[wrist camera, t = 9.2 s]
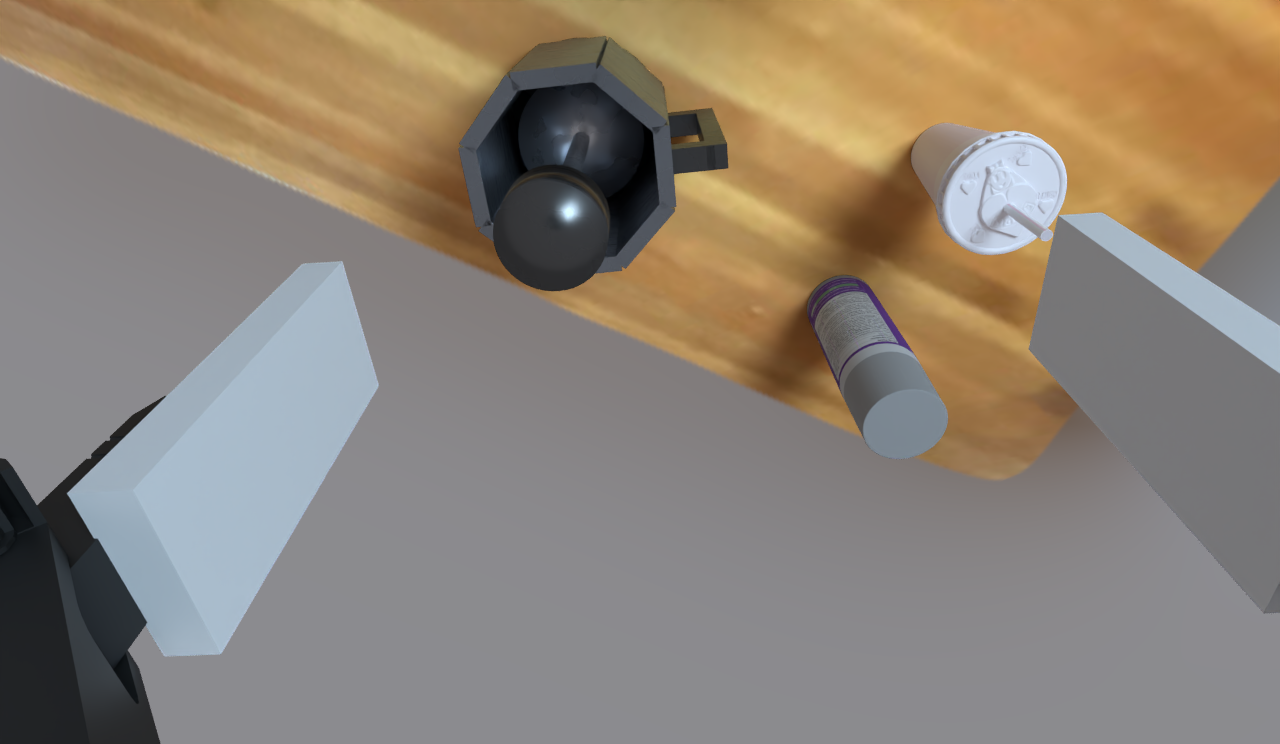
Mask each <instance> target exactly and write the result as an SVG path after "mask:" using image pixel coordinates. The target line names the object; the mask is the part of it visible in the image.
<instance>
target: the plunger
mask: <svg viewBox="0 0 1280 744" xmlns="http://www.w3.org/2000/svg"><path fill="white" fill-rule="evenodd" d="M518 141H519V148H520V152H521V156H522V159H523V161H524V164H525V166H526V167H527V169H528V171H527V172H526V173H524V174H523V175H521V176H520V177H519V178H518V179H517V180H516V181H515V182H514V183H513V185H512V186H511V188H510V189H509V191H508V193H507V195H506V196H505V198H504V200H503V202H502V204H501V206H500V208H499V210H498V212H497V214H496V217H495V220H494V226H493V240H494V246H495V249H496V252H497V254H498V257H499V259H500V260H501V262H502V264H503V265H504V266H505V268H506V269H507V270H508V271H509V272H510V273H511V274H512V275H513V276H514V277H515V278H517V279H518V280H519V281H521V282H523V283H524V284H526V285H528V286H531V287H533V288H536V289H540V290H545V291H562V290H568V289H571V288H574V287H576V286H579V285H581V284H582V283H584V282H586V281H587V280H588V279H590V278H591V277H592V276H593V275H594V274H595V273H596V272H597V270H598V269H599V267H600V266H601V264H602V262H603V260H604V258H605V255H606V251H607V246H608V238H609V229H610V211H609V206H608V203H607V200H606V198H607V197H609V196H611V195H613V194H615V193H616V192H618V191H619V190H620V189H622V188H623V187H624V186H625V185H626V184H627V183H628V182H629V181H630V180H631V178H632V177H633V175H634V174H635V172H636V170H637V168H638V166H639V164H640V161H641V158H642V154H643V148H644V130H643V124H642V122H640V121H639V120H638V119H637V118H636V117H634V116H633V115H632V114H631V113H630V112H628V111H627V110H626V109H625V108H624V107H623V106H621V105H620V104H619V103H618V102H617V101H615V100H614V99H613V98H612V97H611V96H609V95H608V94H607V93H606V92H605V91H603V90H602V89H601V88H600V87H599V86H597V85H596V84H595V83H594V82H589V83H580V84H571V85H562V86H553V87H544V88H538V89H537V90H536V91H535V92H534V94H533V95H532V96H531V98H530V99H529V101H528V102H527V104H526V105H525V108H524V110H523V112H522V115H521V118H520V122H519V129H518Z"/></svg>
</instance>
